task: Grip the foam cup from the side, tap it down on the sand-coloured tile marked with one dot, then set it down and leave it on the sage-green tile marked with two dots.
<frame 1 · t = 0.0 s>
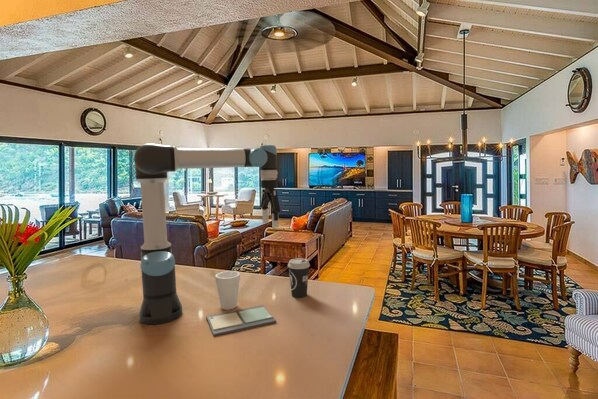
hand: (270, 225, 160), 28 cm above the counter, tool pointing down, fingers open, 13 cm apart
coffee cup: (299, 295, 148), on the counter
foam cup: (228, 306, 138), on the counter
tile board: (240, 320, 125), on the counter
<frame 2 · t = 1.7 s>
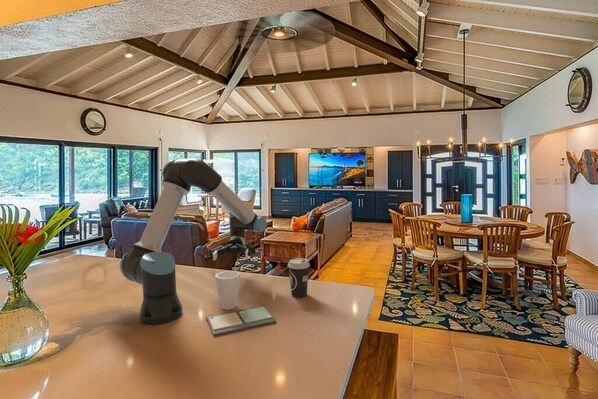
hand: (230, 256, 146), 18 cm above the counter, tool horizontal, fingers open, 13 cm apart
nothing on the counter moved.
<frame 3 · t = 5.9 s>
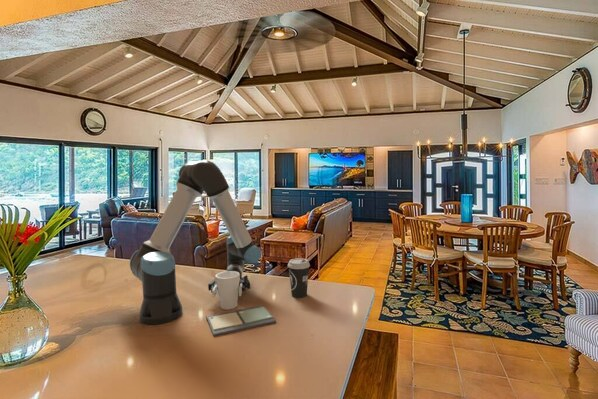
hand: (226, 293, 133), 7 cm above the counter, tool horizontal, fingers closed on foam cup, 9 cm apart
foam cup: (228, 306, 138), on the counter, touching gripper
everything else where it was.
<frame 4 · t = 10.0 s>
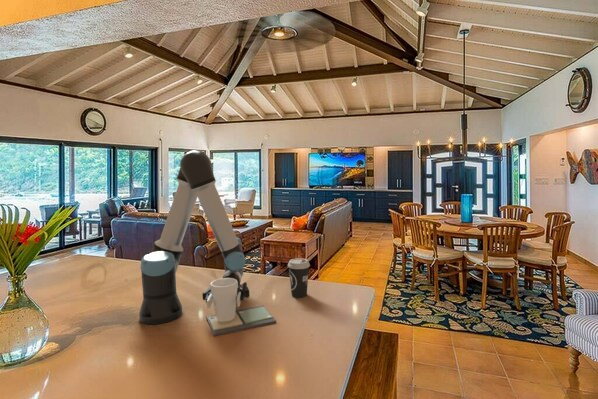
hand: (223, 303, 118), 9 cm above the counter, tool horizontal, fingers closed on foam cup, 9 cm apart
foam cup: (225, 318, 123), point 2 cm above the counter, touching gripper
everything else where it was.
when the fingers open (9 cm above the counter, at t = 14.6 s): foam cup drops 1 cm, resting on tile board.
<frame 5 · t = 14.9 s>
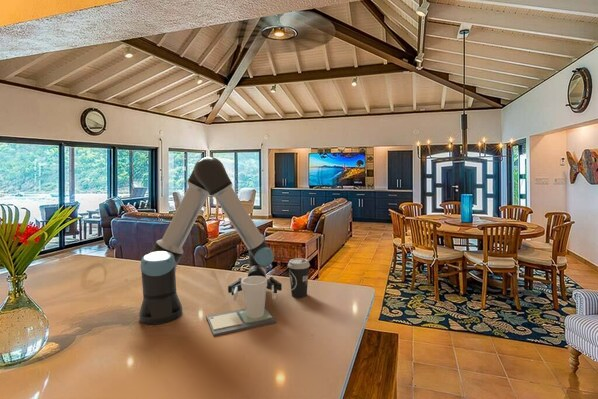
hand: (253, 296, 123), 9 cm above the counter, tool horizontal, fingers open, 13 cm apart
foam cup: (255, 314, 127), point 1 cm above the counter, touching tile board
everything else where it was.
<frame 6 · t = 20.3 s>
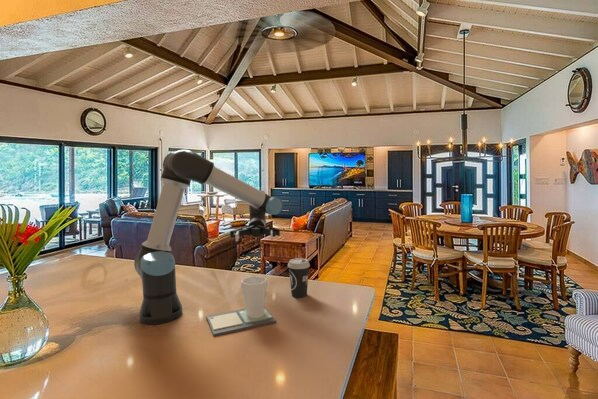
hand: (254, 237, 134), 28 cm above the counter, tool horizontal, fingers open, 13 cm apart
nothing on the counter moved.
at the end: foam cup inside the target area on the tile board (0.1 cm from its centre), point 1.0 cm above the tile board's base; foam cup tilted 0°; the gripper is holding nothing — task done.
